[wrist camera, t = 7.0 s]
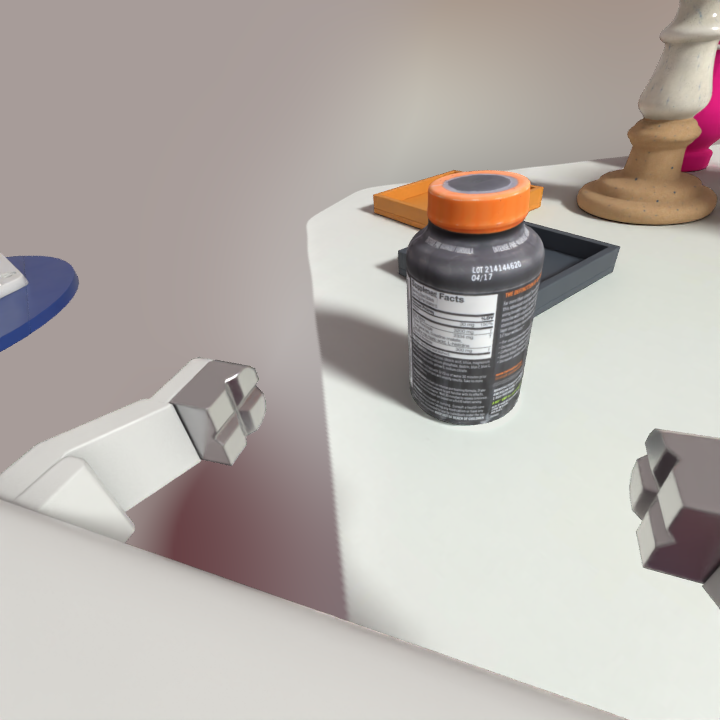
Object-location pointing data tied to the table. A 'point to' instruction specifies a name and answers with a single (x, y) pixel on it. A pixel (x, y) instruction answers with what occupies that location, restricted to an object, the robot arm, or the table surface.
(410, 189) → the amber tray
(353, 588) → the table surface
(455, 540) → the table surface
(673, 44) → the candle holder
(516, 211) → the pill bottle
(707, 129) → the pepper mill
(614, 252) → the slate tray
